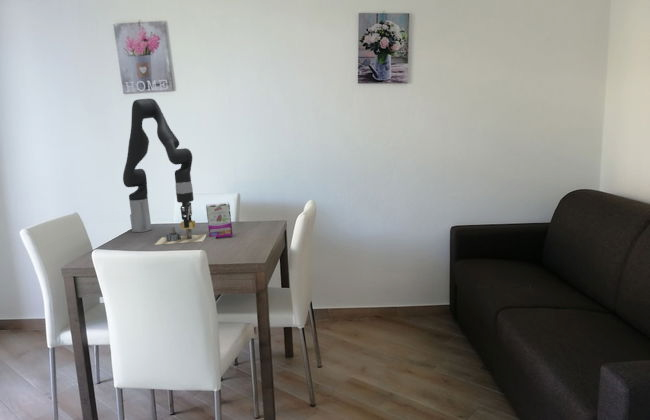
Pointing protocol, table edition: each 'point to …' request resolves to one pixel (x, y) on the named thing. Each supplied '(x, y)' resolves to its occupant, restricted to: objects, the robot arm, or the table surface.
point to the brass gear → (191, 224)
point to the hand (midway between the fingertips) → (188, 226)
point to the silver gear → (173, 237)
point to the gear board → (182, 237)
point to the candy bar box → (219, 220)
